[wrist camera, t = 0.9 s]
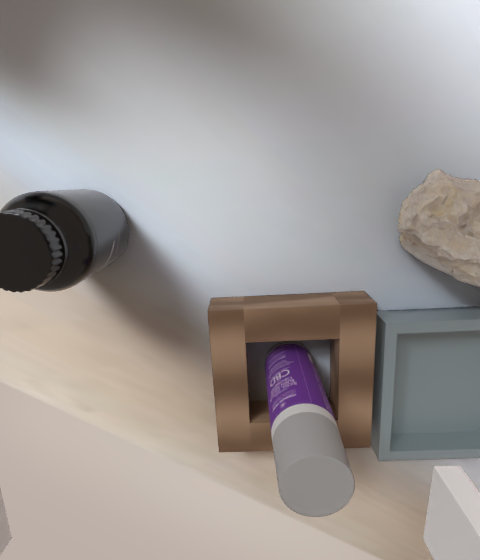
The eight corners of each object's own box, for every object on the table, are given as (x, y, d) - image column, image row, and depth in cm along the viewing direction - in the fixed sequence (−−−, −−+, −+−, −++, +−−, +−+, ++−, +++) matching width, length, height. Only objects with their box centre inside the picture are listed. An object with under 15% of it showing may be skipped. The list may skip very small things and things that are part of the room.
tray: (374, 311, 35) (385, 323, 32) (528, 304, 34) (554, 316, 31) (368, 439, 38) (378, 460, 36) (507, 434, 38) (529, 456, 35)
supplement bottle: (135, 264, 34) (77, 310, 22) (60, 266, 34) (-35, 312, 23) (126, 186, 32) (59, 192, 21) (48, 189, 32) (-63, 196, 21)
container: (276, 333, 36) (297, 442, 21) (321, 351, 36) (371, 469, 21) (256, 374, 37) (263, 504, 22) (300, 391, 37) (334, 528, 23)
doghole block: (211, 298, 35) (207, 311, 31) (364, 290, 34) (377, 303, 31) (221, 427, 38) (219, 452, 35) (359, 423, 38) (370, 447, 35)
